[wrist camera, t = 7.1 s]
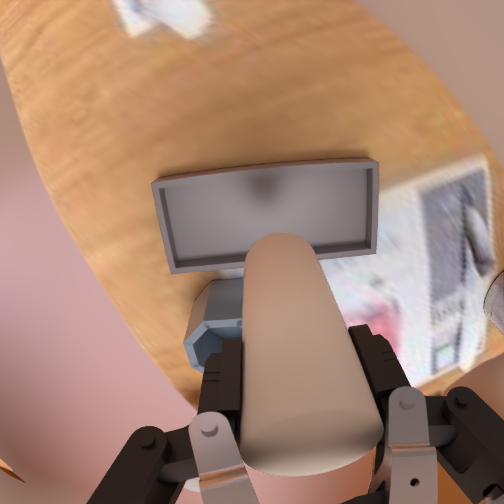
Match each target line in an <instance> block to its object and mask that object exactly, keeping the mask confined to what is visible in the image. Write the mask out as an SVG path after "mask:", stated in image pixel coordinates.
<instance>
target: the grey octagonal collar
mask: <svg viewBox="0 0 504 504" xmlns="http://www.w3.org/2000/svg"><path fill="white" fill-rule="evenodd" d="M243 295H244V278H237V279H226V280H215V281H211V282H210V283H209V284H208V285H207V287H206V288H205V289H204V290H203V291H202V293H201V294H200V295H199V296H198V297H197V298H196V300H195V301H194V304H193V308H192V312H191V315H190V319H189V323H188V327H187V331H186V334H185V338H184V342H183V343H184V346H185V349H186V352H187V355H188V358H189V361H190V364H191V367H192V368H194V369H196V370H198V371H199V372H201V373H203V374H204V366H205V362H206V360H207V359H208V357H209V356H210V355H211V353H222V346H223V340H229V339H242V333H243Z"/></svg>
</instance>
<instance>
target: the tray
mask: <svg viewBox="0 0 504 504" xmlns="http://www.w3.org/2000/svg"><path fill="white" fill-rule="evenodd" d="M151 185H152V191H153V196H154V201H155V206H156V211H157V216H158V220H159V225H160V230H161V234H162V239H163V243H164V247H165V252H166V256H167V260H168V264H169V268H170V272H171V274H179V273H190V272H201V271H212V270H223V269H233V268H244V264H245V259H246V256H247V253H248V252H249V250H250V248H251V247H252V246H253V245H254V244H255V243H256V242H257V241H258V240H260V239H261V238H263V237H265V236H268V235H270V234H274V233H290V234H294V235H297V236H299V237H301V238H303V239H304V240H306V241H307V242H308V243H309V244H310V245H311V247H312V248H313V250H314V252H315V254H316V256H317V259H318V260H323V259H333V258H342V257H351V256H361V255H370V254H376V246H377V227H378V195H379V162H378V161H376V160H374V159H371V158H369V157H368V158H339V159H319V160H304V161H290V162H278V163H267V164H257V165H247V166H238V167H229V168H221V169H213V170H206V171H198V172H191V173H185V174H178V175H172V176H165V177H159V178H158V179H156V180H155V181H153V182H152V183H151Z"/></svg>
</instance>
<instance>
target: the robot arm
mask: <svg viewBox="0 0 504 504" xmlns="http://www.w3.org/2000/svg"><path fill="white" fill-rule="evenodd" d="M484 311H485V314H486V316H487V317H488V318H489V320H490V321H491V322H492V323H493V324H494V325H495V326H496V328H497V329H498V330H499V331H500V332H501V333H502V335H503V336H504V271H503V272H502V273H501V274H500V275H499V276H498V277H497V279H496V280H495V281H494V283H493V284H492V286H491V287H490V289H489V291H488V294H487V296H486V299H485V304H484ZM348 332H349V335H350V337H351V340H352V342H353V345H354V347H355V350H356V352H357V355H358V358H359V360H360V363H361V365H362V368H363V371H364V373H365V376H366V379H367V381H368V384H369V387H370V389H371V392H372V395H373V398H374V401H375V403H376V406H377V409H378V412H379V415H380V418H381V420H382V423H383V427H384V431H383V435H382V437H381V439H380V441H379V442H378V444H377V445H376V446H375V447H374V454H373V467H372V476H371V482H370V484H369V488H368V492H367V494H366V495H362V496H357V497H355V498H353V499H350V500H348V501H346V502H343V503H341V504H437V501H438V496H437V495H438V483H437V482H438V481H437V480H438V478H437V461H438V462H439V463H440V464H441V466H442V467H443V468H444V469H445V470H446V471H447V473H448V474H449V475H450V476H451V478H452V479H453V480H454V481H455V482H456V484H457V485H458V486H459V487H460V488H461V490H462V491H463V492H464V493H465V495H466V496H467V497H468V498H469V499H470V501H471V502H472V503H473V504H504V420H503V419H502V418H501V417H500V416H499V415H498V414H497V413H496V412H495V411H494V410H493V409H491V408H490V407H489V406H488V405H487V404H486V403H485V402H484V401H483V400H482V399H481V398H480V397H479V396H478V395H477V394H476V393H475V392H473V390H471V389H469V388H467V387H455V388H453V389H451V390H450V391H449V392H448V394H447V396H424V395H423V393H422V392H421V391H419V390H418V389H416V388H414V387H411V385H410V383H409V381H408V379H407V377H406V375H405V373H404V371H403V369H402V367H401V365H400V363H399V361H398V359H397V357H396V355H395V353H394V352H393V349H392V347H391V345H390V343H389V341H388V340H386V339H385V338H384V337H383V336H381V335H380V334H378V335H372V333H371V331H370V329H369V327H368V325H367V324H364V325H357V326H351V327H349V328H348ZM242 348H243V343H242V339H229V340H223V346H222V353H211V355H210V356H209V357H208V359H207V360H206V362H205V366H204V374H203V379H202V386H201V393H200V400H199V407H198V413H197V416H196V417H195V418H193V420H192V421H191V422H190V424H189V425H188V426H186V427H184V428H181V429H177V430H174V431H169V432H165V433H164V432H163V431H162V430H161V429H159V428H157V427H154V426H145V427H141V428H139V429H137V430H136V431H135V432H134V433H133V434H132V435H131V437H130V438H129V440H128V441H127V442H126V444H125V446H124V447H123V449H122V450H121V452H120V453H119V455H118V456H117V458H116V459H115V461H114V462H113V464H112V465H111V467H110V469H109V470H108V471H107V473H106V475H105V476H104V478H103V479H102V481H101V482H100V484H99V485H98V487H97V488H96V490H95V491H94V493H93V494H92V496H91V498H90V499H89V501H88V502H87V504H175V503H176V500H177V499H178V497H179V495H180V493H181V491H182V488H183V487H184V485H185V483H186V481H187V480H189V479H193V478H197V477H200V480H199V487H200V492H201V495H202V499H203V502H204V504H260V503H259V501H258V498H257V496H256V493H255V491H254V488H253V486H252V483H251V481H250V478H249V476H248V473H247V471H246V469H245V466H244V463H243V461H242V458H241V455H240V423H241V395H242Z"/></svg>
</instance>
